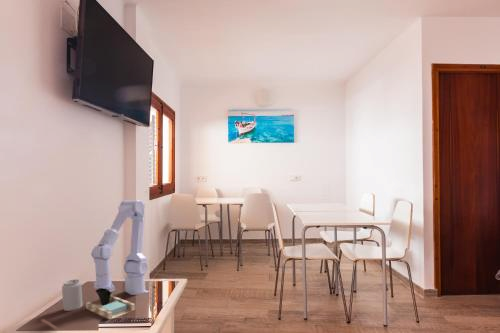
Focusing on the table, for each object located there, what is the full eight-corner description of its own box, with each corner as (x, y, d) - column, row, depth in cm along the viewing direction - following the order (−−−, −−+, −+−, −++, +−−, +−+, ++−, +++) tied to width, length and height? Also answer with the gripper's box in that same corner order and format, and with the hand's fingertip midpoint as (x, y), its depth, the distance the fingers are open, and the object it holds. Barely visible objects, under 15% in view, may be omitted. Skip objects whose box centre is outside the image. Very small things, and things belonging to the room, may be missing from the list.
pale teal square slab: (100, 311, 146) (100, 306, 146) (116, 305, 151) (116, 301, 151) (110, 315, 140) (110, 310, 140) (126, 309, 146) (126, 304, 146)
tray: (86, 310, 150) (85, 302, 150) (111, 301, 158) (110, 294, 158) (109, 321, 137) (109, 313, 137) (135, 311, 145) (134, 303, 145)
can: (86, 306, 155) (84, 278, 155) (73, 313, 148) (71, 284, 148) (73, 305, 157) (71, 278, 158) (59, 312, 150) (57, 283, 150)
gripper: (86, 273, 152) (88, 305, 152) (102, 278, 143) (104, 312, 142) (102, 269, 157) (104, 299, 157) (118, 274, 148) (120, 306, 148)
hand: (105, 305), depth 150 cm, fingers closed
